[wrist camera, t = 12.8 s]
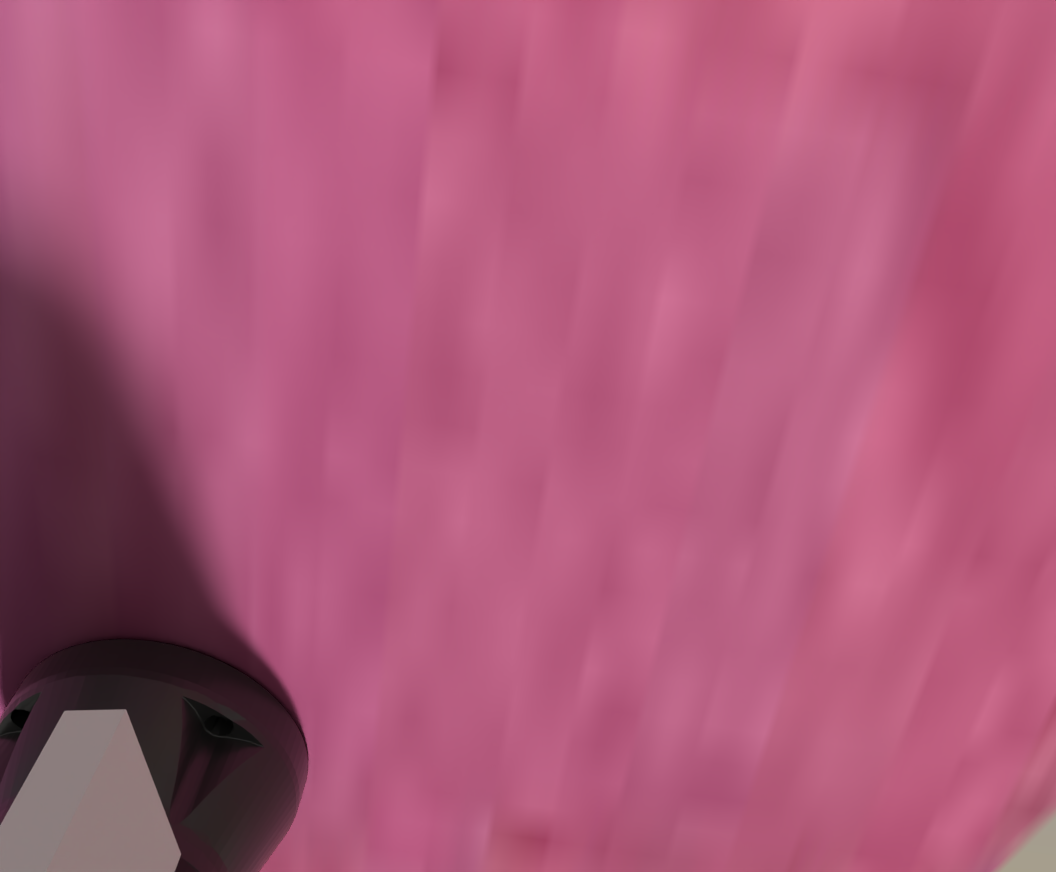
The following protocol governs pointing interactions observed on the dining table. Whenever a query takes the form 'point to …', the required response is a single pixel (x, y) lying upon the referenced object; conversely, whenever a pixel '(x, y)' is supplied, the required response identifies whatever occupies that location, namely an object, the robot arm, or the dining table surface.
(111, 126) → the dining table surface
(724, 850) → the dining table surface
